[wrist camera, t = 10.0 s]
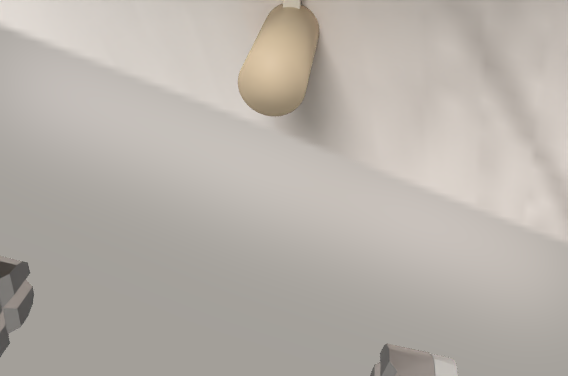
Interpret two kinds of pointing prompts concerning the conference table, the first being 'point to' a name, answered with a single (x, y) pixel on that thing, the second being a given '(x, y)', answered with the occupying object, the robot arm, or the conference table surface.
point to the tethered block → (280, 60)
